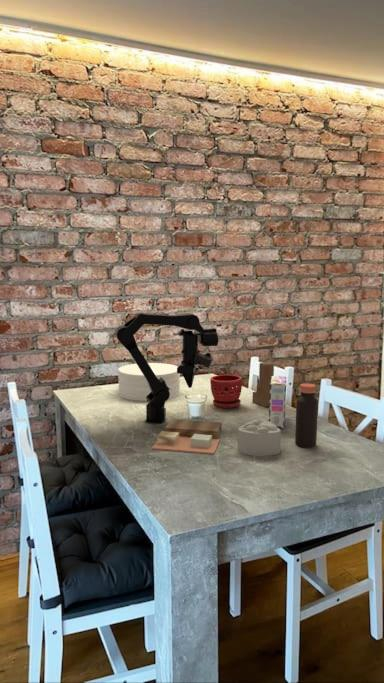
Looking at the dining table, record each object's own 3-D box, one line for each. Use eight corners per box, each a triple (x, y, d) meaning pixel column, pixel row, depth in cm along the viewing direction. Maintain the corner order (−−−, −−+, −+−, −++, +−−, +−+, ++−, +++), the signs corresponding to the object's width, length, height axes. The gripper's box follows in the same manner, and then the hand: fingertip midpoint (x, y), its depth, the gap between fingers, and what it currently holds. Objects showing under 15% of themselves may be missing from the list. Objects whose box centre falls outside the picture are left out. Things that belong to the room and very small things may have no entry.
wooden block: (252, 402, 216) (253, 360, 213) (260, 400, 218) (261, 360, 215) (264, 407, 208) (265, 364, 205) (273, 406, 210) (274, 363, 207)
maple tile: (162, 431, 168) (162, 438, 168) (157, 435, 163) (157, 443, 164) (179, 432, 167) (179, 439, 167) (175, 437, 162) (175, 444, 162)
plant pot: (233, 399, 219) (234, 373, 217) (246, 408, 207) (247, 379, 205) (205, 402, 215) (206, 374, 213) (216, 410, 202) (217, 381, 201)
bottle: (290, 442, 166) (293, 383, 163) (307, 439, 169) (310, 381, 166) (303, 449, 160) (305, 388, 157) (320, 446, 163) (323, 386, 160)
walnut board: (165, 436, 172) (165, 427, 172) (172, 426, 182) (172, 418, 181) (217, 439, 168) (217, 431, 168) (221, 430, 178) (221, 422, 178)
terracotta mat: (152, 449, 160) (152, 447, 160) (162, 436, 172) (162, 434, 172) (214, 454, 156) (214, 452, 156) (219, 440, 168) (220, 439, 168)
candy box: (284, 428, 181) (286, 384, 178) (268, 427, 182) (269, 383, 179) (285, 417, 194) (286, 375, 192) (270, 416, 195) (271, 375, 193)
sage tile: (194, 433, 165) (194, 441, 166) (190, 438, 161) (190, 446, 161) (212, 435, 164) (211, 442, 164) (208, 440, 159) (208, 447, 160)
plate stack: (146, 383, 250) (146, 360, 248) (192, 391, 233) (192, 367, 232) (105, 394, 227) (105, 369, 225) (153, 405, 211) (153, 378, 209)
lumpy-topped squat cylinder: (283, 454, 156) (284, 427, 155) (242, 457, 154) (243, 430, 152) (271, 442, 166) (272, 417, 165) (233, 445, 164) (234, 419, 162)
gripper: (207, 352, 178) (206, 394, 180) (215, 344, 196) (214, 383, 198) (176, 350, 180) (176, 393, 182) (187, 343, 198) (187, 381, 200)
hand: (190, 387), depth 191 cm, fingers closed
